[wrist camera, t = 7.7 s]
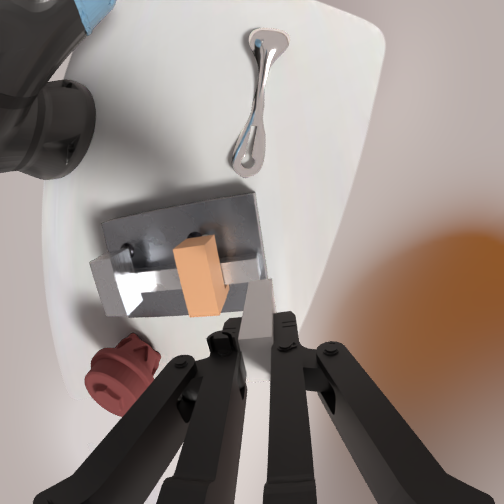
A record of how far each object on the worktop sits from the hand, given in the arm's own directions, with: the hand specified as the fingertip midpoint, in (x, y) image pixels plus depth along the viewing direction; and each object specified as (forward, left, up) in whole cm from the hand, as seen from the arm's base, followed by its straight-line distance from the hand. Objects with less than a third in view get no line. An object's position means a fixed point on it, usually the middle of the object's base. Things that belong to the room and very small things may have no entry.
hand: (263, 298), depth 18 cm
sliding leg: (+1, -6, -12) cm, 13 cm away
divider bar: (0, -10, -12) cm, 16 cm away
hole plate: (0, -10, -15) cm, 18 cm away
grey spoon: (-17, +2, -16) cm, 23 cm away
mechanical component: (+14, -22, -15) cm, 30 cm away
